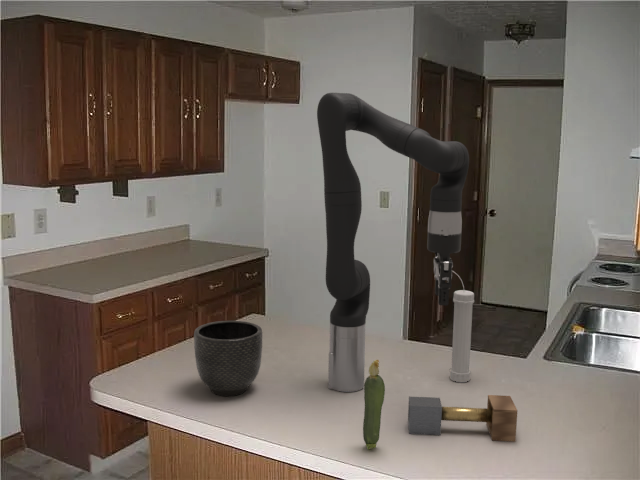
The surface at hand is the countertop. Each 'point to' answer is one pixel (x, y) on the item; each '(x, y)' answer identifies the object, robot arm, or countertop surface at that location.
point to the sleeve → (424, 415)
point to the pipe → (461, 335)
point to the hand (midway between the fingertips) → (441, 300)
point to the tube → (467, 414)
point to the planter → (228, 355)
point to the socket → (502, 418)
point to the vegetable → (373, 405)
